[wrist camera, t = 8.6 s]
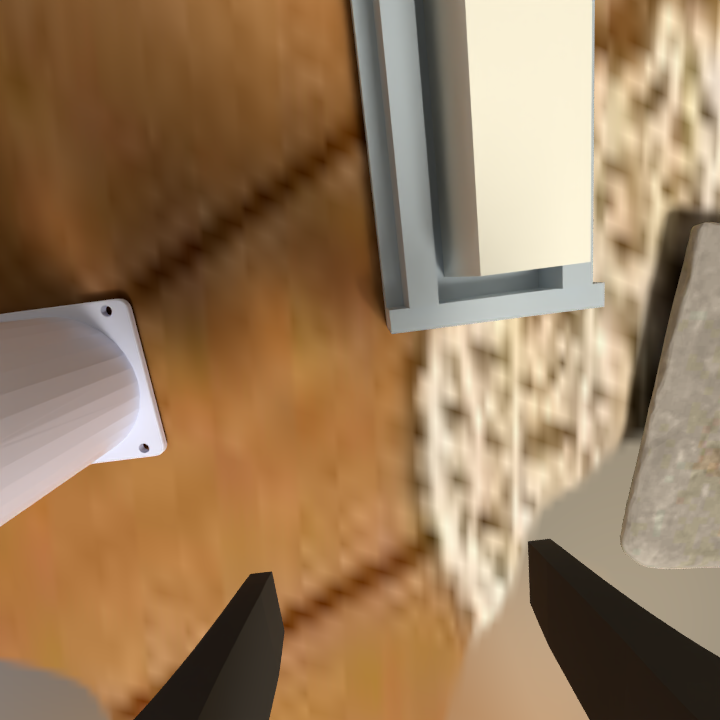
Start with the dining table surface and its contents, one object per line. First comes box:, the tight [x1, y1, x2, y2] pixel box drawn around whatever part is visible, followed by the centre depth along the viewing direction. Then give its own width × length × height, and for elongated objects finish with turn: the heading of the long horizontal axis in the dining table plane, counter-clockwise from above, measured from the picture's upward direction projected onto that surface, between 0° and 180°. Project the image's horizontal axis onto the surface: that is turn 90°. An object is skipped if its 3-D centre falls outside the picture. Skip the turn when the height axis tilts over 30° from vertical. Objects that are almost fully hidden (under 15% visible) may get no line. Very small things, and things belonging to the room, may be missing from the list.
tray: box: [350, 0, 604, 334], centre depth 15 cm, size 9×16×3 cm, turn 7°
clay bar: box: [423, 0, 592, 277], centre depth 13 cm, size 12×4×5 cm, turn 7°
